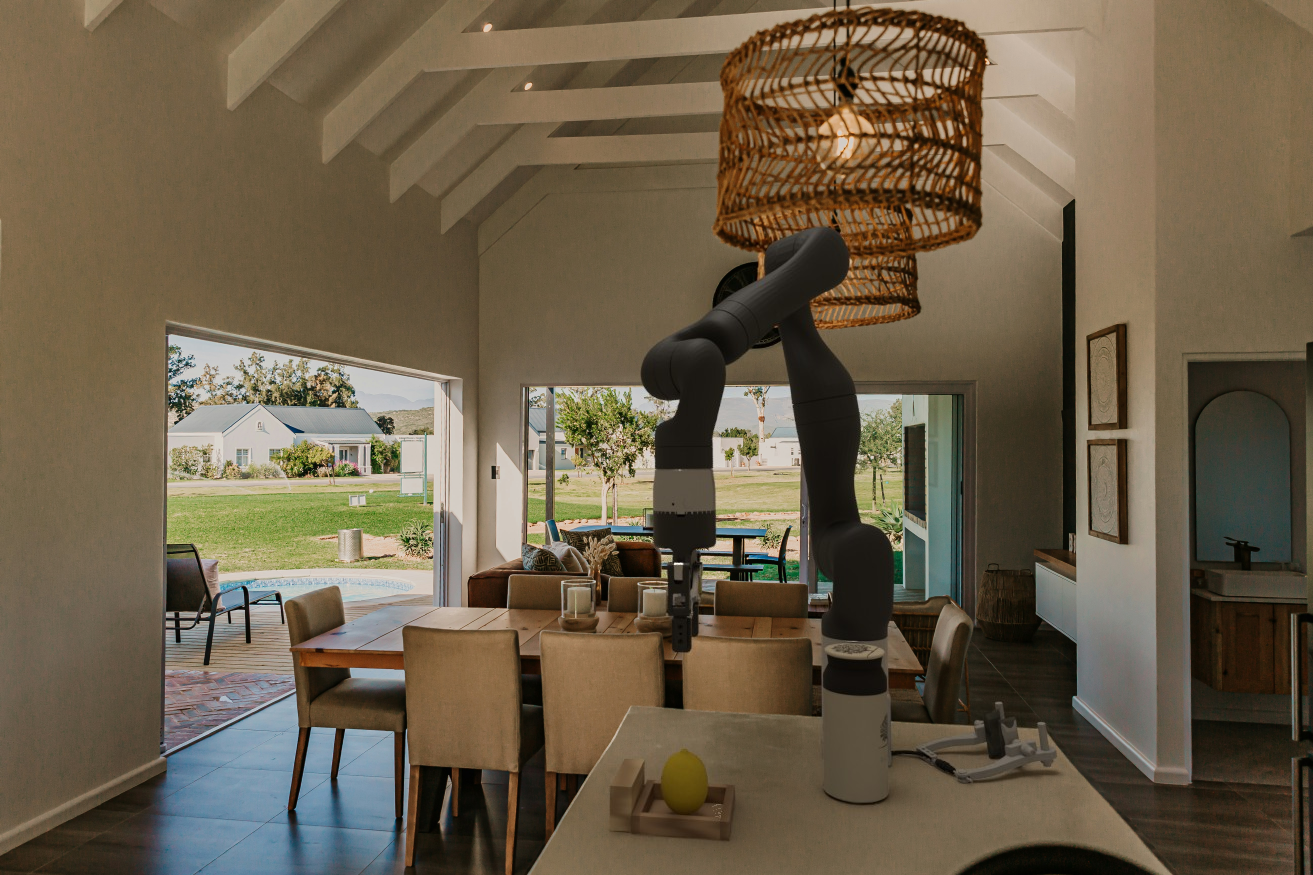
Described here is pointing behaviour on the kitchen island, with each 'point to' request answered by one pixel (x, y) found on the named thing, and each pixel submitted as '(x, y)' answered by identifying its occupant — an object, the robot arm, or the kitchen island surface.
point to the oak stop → (626, 793)
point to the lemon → (684, 783)
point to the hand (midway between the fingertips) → (685, 643)
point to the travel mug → (855, 723)
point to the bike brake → (991, 747)
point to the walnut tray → (702, 824)
